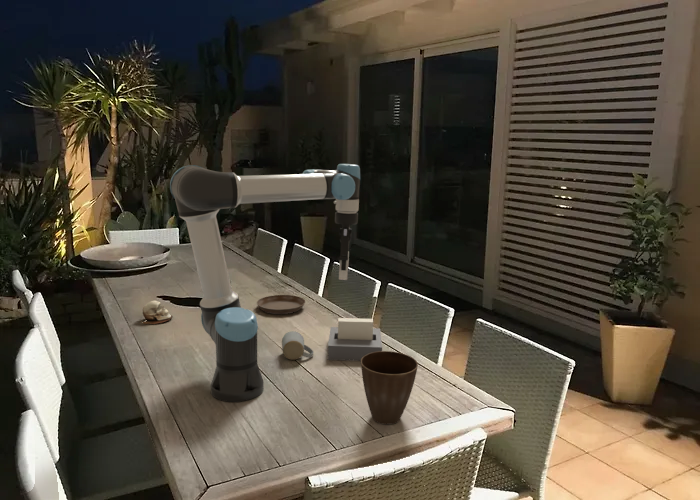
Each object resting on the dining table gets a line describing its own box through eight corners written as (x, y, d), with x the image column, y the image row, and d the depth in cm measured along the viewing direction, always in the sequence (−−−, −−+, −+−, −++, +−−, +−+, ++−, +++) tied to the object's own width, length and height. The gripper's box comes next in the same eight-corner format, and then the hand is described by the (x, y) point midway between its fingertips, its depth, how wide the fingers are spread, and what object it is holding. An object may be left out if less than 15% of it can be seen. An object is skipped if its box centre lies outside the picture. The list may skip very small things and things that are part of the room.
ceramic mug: (282, 361, 182) (282, 339, 180) (281, 351, 190) (282, 330, 188) (314, 361, 183) (315, 339, 182) (312, 351, 191) (313, 330, 190)
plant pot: (410, 404, 155) (413, 351, 152) (418, 432, 141) (422, 374, 137) (357, 404, 155) (359, 350, 151) (360, 432, 140) (362, 373, 137)
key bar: (371, 345, 194) (372, 318, 192) (372, 349, 191) (373, 322, 189) (337, 344, 194) (338, 317, 192) (337, 348, 191) (338, 321, 189)
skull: (177, 311, 225) (171, 299, 216) (171, 334, 219) (165, 322, 210) (148, 310, 225) (141, 297, 216) (141, 332, 219) (133, 320, 210)
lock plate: (381, 361, 184) (382, 347, 183) (327, 359, 184) (327, 345, 183) (379, 341, 202) (380, 328, 201) (330, 339, 202) (330, 326, 201)
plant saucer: (249, 313, 229) (249, 306, 228) (267, 299, 248) (267, 292, 248) (296, 318, 224) (296, 310, 224) (311, 304, 244) (311, 296, 243)
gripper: (336, 206, 193) (334, 265, 197) (333, 216, 169) (330, 283, 173) (358, 207, 193) (355, 266, 197) (357, 217, 169) (354, 284, 173)
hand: (343, 274), depth 185 cm, fingers open, 13 cm apart
